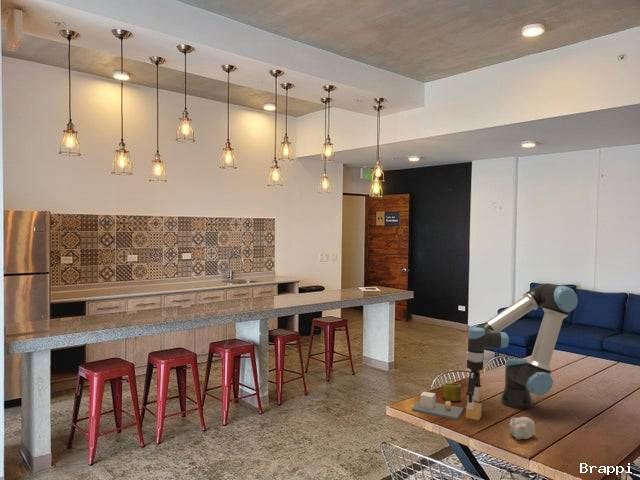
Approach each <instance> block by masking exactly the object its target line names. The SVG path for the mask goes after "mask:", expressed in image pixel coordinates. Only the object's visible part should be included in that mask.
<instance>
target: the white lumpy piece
mask: <svg viewBox="0 0 640 480" xmlns="http://www.w3.org/2000/svg"><path fill="white" fill-rule="evenodd" d="M509 420H510V421H509V432H510V434H511V436H512V437H515V439H516V440H522V439H523V440H527V439H530V438H531V437H532V436H533V435H534V434H535V433H536V424H535V422H534V421H533V419H531V418H530V417H528V416H520V415H517V416H515V417H511V419H509Z"/></svg>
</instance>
